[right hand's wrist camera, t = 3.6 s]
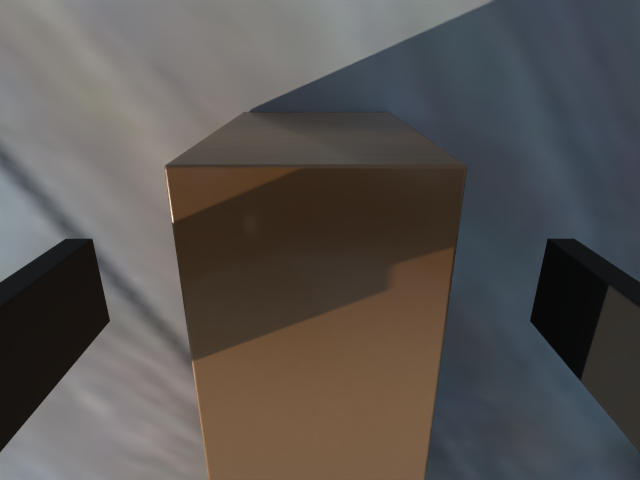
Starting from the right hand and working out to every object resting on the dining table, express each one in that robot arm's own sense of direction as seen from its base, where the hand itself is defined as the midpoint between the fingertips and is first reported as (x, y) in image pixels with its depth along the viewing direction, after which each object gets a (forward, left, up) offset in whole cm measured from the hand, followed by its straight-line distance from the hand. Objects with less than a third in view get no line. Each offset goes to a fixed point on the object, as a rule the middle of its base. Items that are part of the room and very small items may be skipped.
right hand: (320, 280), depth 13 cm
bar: (+6, +3, -4) cm, 8 cm away
